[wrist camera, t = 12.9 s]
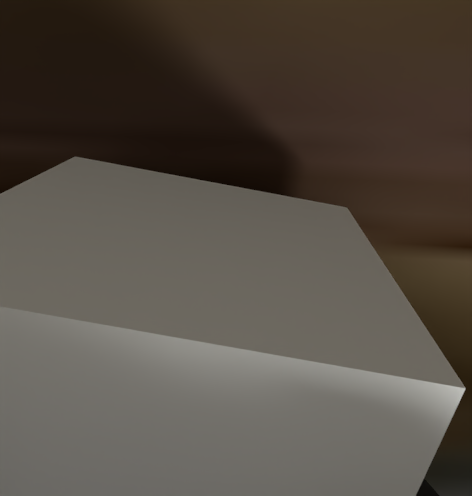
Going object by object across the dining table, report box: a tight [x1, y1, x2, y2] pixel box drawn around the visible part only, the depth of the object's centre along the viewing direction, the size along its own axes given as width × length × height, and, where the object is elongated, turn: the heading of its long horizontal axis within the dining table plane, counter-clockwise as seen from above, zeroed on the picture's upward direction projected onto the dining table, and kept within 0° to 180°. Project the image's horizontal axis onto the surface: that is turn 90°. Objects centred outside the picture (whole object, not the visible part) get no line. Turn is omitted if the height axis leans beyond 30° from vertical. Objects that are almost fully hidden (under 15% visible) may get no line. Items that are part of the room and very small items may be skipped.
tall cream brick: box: [0, 157, 466, 496], centre depth 9 cm, size 9×6×6 cm
